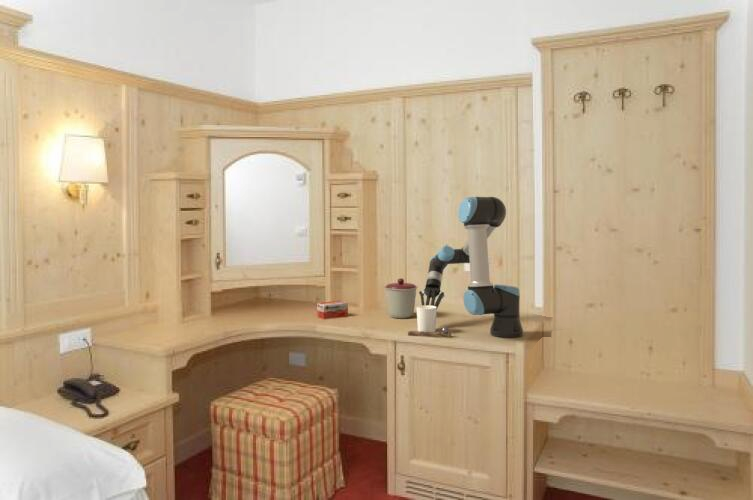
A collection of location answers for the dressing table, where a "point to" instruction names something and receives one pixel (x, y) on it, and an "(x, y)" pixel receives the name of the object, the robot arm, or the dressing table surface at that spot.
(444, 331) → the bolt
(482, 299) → the robot arm
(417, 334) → the hole rail
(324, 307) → the medicine box
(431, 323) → the white cup
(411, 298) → the canister
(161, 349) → the dressing table surface
